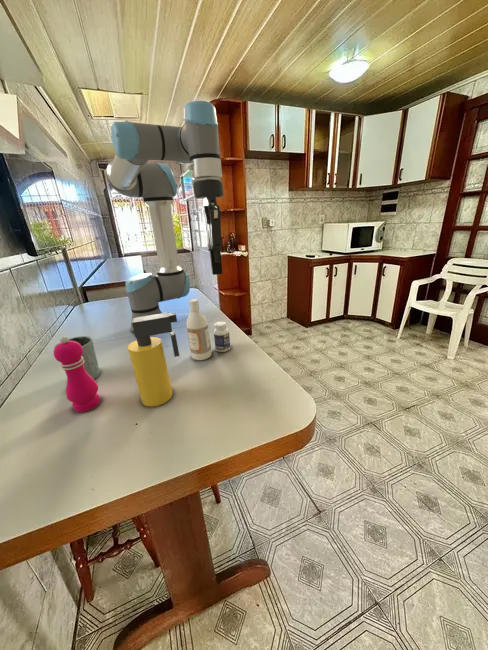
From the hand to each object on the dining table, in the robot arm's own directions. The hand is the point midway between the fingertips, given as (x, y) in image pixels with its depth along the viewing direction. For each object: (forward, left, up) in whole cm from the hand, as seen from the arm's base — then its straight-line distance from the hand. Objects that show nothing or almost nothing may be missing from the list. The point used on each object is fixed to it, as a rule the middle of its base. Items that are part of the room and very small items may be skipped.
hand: (217, 273), depth 76 cm
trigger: (+10, -15, -17) cm, 25 cm away
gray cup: (-10, -44, -29) cm, 54 cm away
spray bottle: (+10, -20, -29) cm, 36 cm away
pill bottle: (-10, +1, -29) cm, 31 cm away
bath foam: (-8, -7, -29) cm, 31 cm away
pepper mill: (+6, -40, -29) cm, 50 cm away
